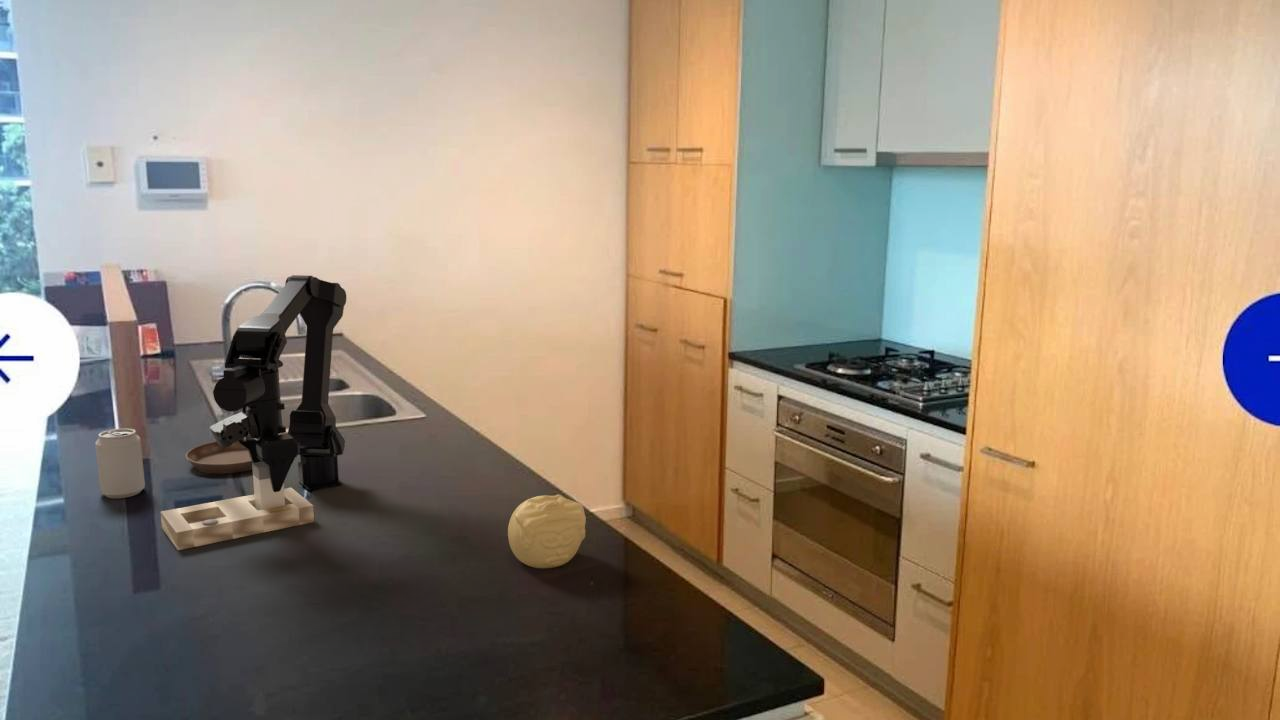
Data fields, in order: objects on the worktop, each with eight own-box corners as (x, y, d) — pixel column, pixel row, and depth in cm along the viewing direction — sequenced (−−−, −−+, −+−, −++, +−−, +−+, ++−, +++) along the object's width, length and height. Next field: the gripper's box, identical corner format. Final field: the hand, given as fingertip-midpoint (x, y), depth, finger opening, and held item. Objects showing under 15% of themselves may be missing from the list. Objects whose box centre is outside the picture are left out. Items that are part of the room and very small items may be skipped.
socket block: (292, 503, 181) (291, 486, 181) (314, 522, 172) (313, 504, 171) (162, 528, 169) (160, 510, 168) (178, 550, 159) (176, 531, 158)
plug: (279, 513, 176) (275, 459, 174) (286, 519, 173) (282, 464, 171) (256, 517, 174) (252, 463, 172) (262, 524, 171) (258, 468, 169)
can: (126, 501, 182) (120, 438, 180) (91, 498, 183) (84, 435, 181) (154, 488, 189) (148, 427, 187) (119, 485, 191) (113, 425, 188)
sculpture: (525, 581, 148) (524, 513, 146) (498, 553, 159) (497, 489, 157) (594, 567, 153) (594, 501, 151) (564, 541, 164) (563, 479, 162)
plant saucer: (273, 474, 199) (272, 459, 198) (178, 480, 195) (177, 465, 194) (283, 449, 216) (282, 436, 215) (196, 454, 212) (195, 440, 211)
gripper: (199, 393, 172) (206, 479, 175) (227, 415, 157) (235, 508, 160) (264, 385, 178) (270, 468, 181) (298, 405, 164) (303, 495, 167)
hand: (268, 484), depth 172 cm, fingers open, 9 cm apart
